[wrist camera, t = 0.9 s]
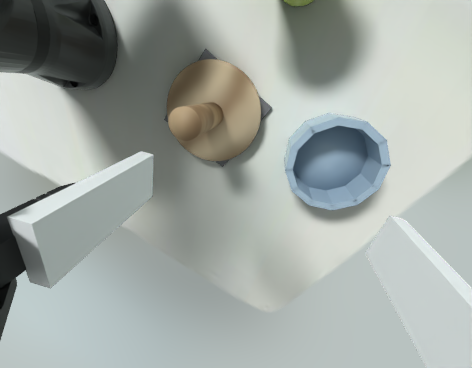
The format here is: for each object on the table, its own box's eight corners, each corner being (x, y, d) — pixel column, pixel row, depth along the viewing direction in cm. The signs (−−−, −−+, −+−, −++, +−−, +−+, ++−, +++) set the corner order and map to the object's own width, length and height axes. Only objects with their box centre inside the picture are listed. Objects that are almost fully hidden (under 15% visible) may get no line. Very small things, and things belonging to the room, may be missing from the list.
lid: (156, 120, 34) (102, 132, 24) (203, 36, 28) (159, 4, 18) (223, 174, 36) (201, 208, 25) (281, 106, 30) (282, 114, 19)
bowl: (269, 159, 34) (267, 170, 29) (329, 95, 29) (340, 95, 24) (324, 205, 35) (331, 224, 30) (390, 152, 30) (412, 164, 25)
